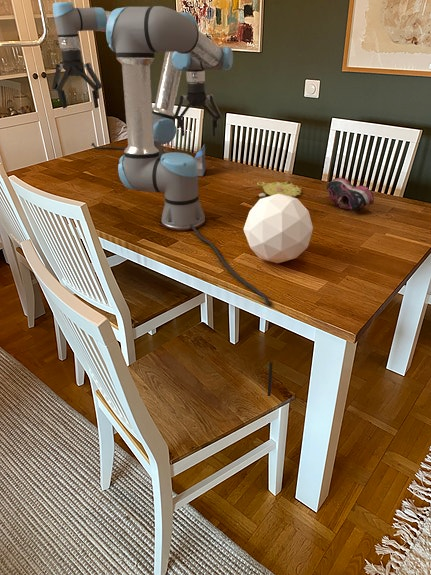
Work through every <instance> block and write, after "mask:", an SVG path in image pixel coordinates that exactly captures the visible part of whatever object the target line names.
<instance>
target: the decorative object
mask: <svg viewBox="0 0 431 575" xmlns="http://www.w3.org/2000/svg"><path fill="white" fill-rule="evenodd" d="M256 186H261V187H262V190H263V191H264V192H261V193H259V194H258V197H259V198H265V197H267V195H268V196H272V195H275V194H282V195H286V196H289V197H293V198H296V197H298V196H301V193H302V188H301V187H299V185H294V183H292V182H291V183H289V181H288V180H286V181H282V182H279V181H275V182H273V181H272V182H270V183H269V182H264V181H258V182H257V183H256Z"/></svg>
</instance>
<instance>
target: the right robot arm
mask: <svg viewBox="0 0 431 575" xmlns="http://www.w3.org/2000/svg"><path fill="white" fill-rule="evenodd" d="M110 12H111V14H110V16H109V18H108V21H107V25H106V32H105V35H106V42H107V44H108V47H109V49H110V50H111V51H112V52H113V53H115V58H116V61H118V62H119V63H120V65H121V72H122V84H123V96H124V110H125V122H126V136H127V146H126V147H125V148H126V149H125V150H123V155H122V156H120V157H119V160H118V164H117V171H118V176H119V179H120V182H121V184H122V185H123V186H124V187H125V188H127V189H129V190H132V191H137V192H150V193H161V194H163V195H164V204H163V209H162V213H161V219H160V220H161V225H162V227H163V228H165V229H167V230H170V231H175V232H176V231H177V232H185V231H186V232H187V231H192V230H193V231H194V233H195V234H196V236H197V237H198V238H199V239H200V240H202V241H203V242H205V243H207V244H208V245H209V246H210V247H211V248H212V249H213V250H214V252H215V254H216V256H217V257H218V258H219V260H220V262H221V263H222V264H223V265H224V267H225V268H226V269H227V270H228V271H229V272H230V274H231V275H233V276H234V277H235V278H236V279H237V280H238V281H239V282H241V283H242V284H243V285H245V286H246V287H247V288H249V289H250V290H252V291H253V292H255V293H256V294H257V295H259V296H260V297H262V298H263V300H264V301H265V303H266V306H267V307H271V306H272V304H271V302H270V299H269V298H268V296H267V295H266V294H265V293H263V292H262V291H260V290H259V289H258V288H257V287H255V286H253V285H252V284H250V283H249V282H248V281H246V280H245V279H244V278H242V277H241V276H240V275H239V274H238V273H236V272H235V271H234V270H233V269H232V267H230V266H229V264H228V263H227V261H226V260H225V258H224V257H223V255H221V253H220V251H219V250H218V248H217V246H216V245H215V244H214V243H212V242H211V241H210V240H208V239H206V238H204V236H202V235H201V233H199V231H198V230H197V229H198V228H201V227H202V226H203V225H204V224H205V223H206V216H205V212H204V210H203V208H202V204H201V201H200V196H199V176H198V170H197V163H196V160H195V157H193V156H192V155H191V154H188V153H185V152H179V151H174V152H172V151H170V152H165V154H163V155H162V156H161V157H159V150H158V149H157V148H156V147H155V145H154V132H153V113H152V108H153V98H152V97H153V96H152V95H153V94H152V78H151V77H152V76H151V65H152V63H153V62H154V61H155V59H156V58H155V57H156V56H155V53H166V52H174V53H173V55H172V63H173V65H174V67H175V68H176V69H177V70H180V71H182V72H185V76H186V82H187V83H186V92H187V95H184V94H180V96H179V101H178V102H179V103H178V105H177V107H176V110H175V112H174V114H175V115H174V119H175V120H177V123H178V128H179V129H180V131H181V137H184V136H185V120H184V118H183V117H184V116H185V114H186V113H187V112H188V110H189V109H190V108H191V107H193V108H196V107H198V108H200V107H203V108H204V109H205V111H206V112H207V113H208V114H209V116H211V118H212V121H211V122H212V137H215V136H216V129H217V128H218V120H219V119H221V118H222V116H223V115H222V113H221V111H220V109H219V107H218V105H217V104H216V101H215V99H214V94H213V93H211V94H208V95H207V94H206V82H205V81H206V70H207V71H208V70H210V71H211V70H212V71H229V70H231V69H232V67H233V63H234V53H233V52H234V51H233V50H232V48H231V47H229V46H219V45H218V44H216V43H215V42H214V41H213V40H211V39H210V38H209V37H207V35H205V34H204V33H203V32H201V31H200V29H199V30H198V28H199V27H198V28H197V26H196V24H195V23H194V22H193V21H192V20H190V19H189V18H188V17H186V16H184V15H183V14H181V13H179V12H180V11H177V10H176V9H175V10H174V9H172V8H170V7H166V6H162V5H154V6H124V7H117V8H115V9H113V10H112V11H110ZM186 100H187V102H188V104H187V105H186V106H185V108H184V110H183V111H182V112H181V109H182V106H183V105H184V104H183V103H184V102H185V101H186ZM207 100H208V101H209V102H210V104H211V106H212V108H213V109H211V108H210V106H209V104H208V103H207V102H206V101H207ZM213 110H214V111H213ZM180 112H181V114H180V115H179V113H180ZM273 365H274V362H272V361H271V362H269V367H268V368H269V369H268V383H267V385H268V386H267V396H270V395H272V385H273V384H272V382H273V368H274V366H273ZM265 426H266V427H269V426H270V422H269V423H268V424H267V425H266V424H265Z"/></svg>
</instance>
